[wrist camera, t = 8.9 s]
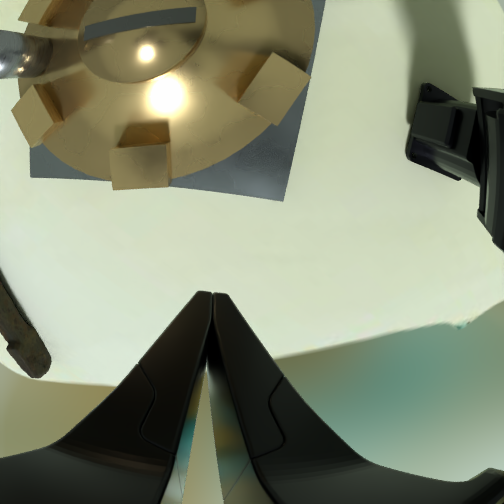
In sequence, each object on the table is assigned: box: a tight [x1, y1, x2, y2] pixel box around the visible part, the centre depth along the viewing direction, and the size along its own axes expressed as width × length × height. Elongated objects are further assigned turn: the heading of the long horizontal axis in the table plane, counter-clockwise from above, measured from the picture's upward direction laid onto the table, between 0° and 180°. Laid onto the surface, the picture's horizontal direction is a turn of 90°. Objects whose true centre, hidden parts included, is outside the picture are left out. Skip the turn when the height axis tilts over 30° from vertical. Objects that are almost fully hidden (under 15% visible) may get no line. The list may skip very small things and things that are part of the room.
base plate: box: [30, 0, 325, 202], centre depth 13 cm, size 18×18×2 cm
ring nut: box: [0, 0, 315, 190], centre depth 9 cm, size 16×16×7 cm
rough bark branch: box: [0, 281, 52, 378], centre depth 20 cm, size 19×4×5 cm, turn 8°
